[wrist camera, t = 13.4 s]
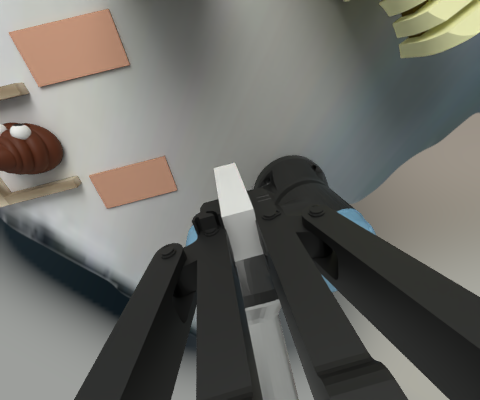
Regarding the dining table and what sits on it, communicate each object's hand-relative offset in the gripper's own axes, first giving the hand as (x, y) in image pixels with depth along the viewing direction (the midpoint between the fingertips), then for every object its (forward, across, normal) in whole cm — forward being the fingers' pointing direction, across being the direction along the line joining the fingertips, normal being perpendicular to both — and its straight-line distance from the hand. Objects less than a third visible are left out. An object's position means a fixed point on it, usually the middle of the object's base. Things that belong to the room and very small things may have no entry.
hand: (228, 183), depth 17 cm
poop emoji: (+30, +30, -3) cm, 42 cm away
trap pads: (+29, +17, -3) cm, 34 cm away
